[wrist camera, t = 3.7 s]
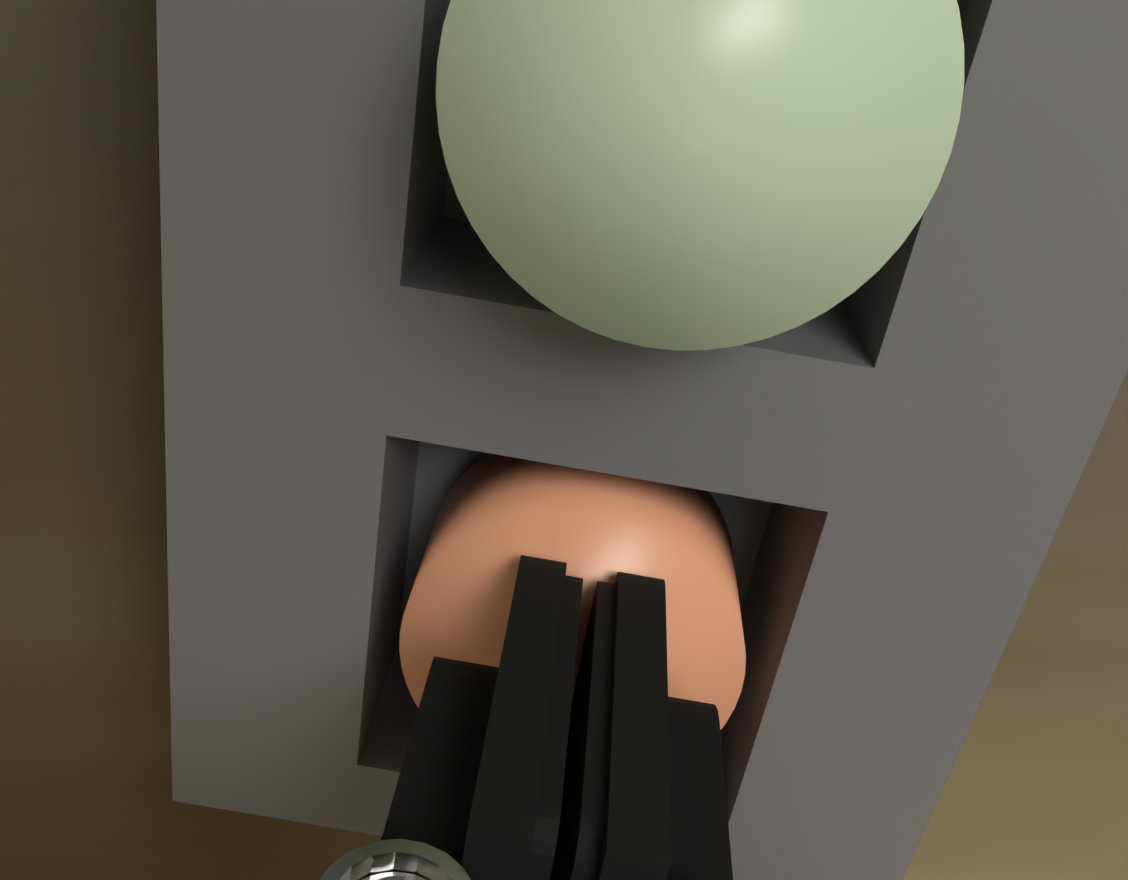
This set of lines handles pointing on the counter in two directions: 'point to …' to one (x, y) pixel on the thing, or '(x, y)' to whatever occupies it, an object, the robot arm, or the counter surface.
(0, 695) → the counter surface
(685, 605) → the terracotta button
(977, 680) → the button panel
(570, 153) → the green button
